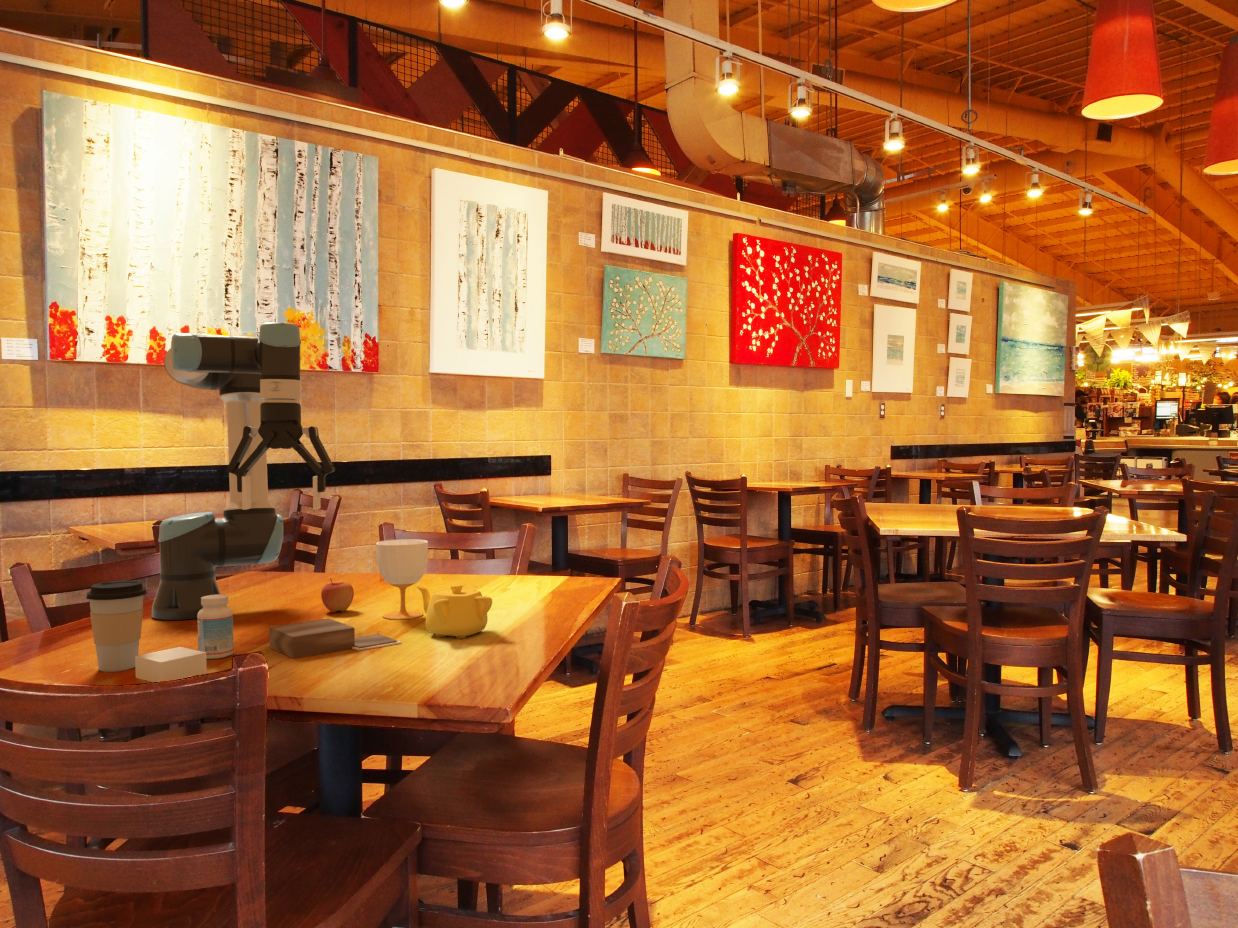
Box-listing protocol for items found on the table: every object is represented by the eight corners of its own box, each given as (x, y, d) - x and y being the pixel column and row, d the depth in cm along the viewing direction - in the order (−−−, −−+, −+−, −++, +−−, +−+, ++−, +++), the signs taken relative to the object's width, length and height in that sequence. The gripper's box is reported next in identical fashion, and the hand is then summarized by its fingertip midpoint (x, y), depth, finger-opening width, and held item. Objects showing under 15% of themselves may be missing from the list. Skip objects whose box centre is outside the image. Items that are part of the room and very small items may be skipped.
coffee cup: (104, 661, 160) (102, 580, 160) (157, 660, 161) (156, 579, 161) (76, 675, 151) (74, 588, 151) (133, 673, 152) (131, 588, 151)
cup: (365, 618, 198) (365, 543, 198) (397, 609, 209) (396, 538, 208) (409, 622, 194) (408, 546, 193) (439, 612, 204) (438, 540, 204)
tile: (337, 642, 175) (337, 639, 175) (380, 635, 181) (379, 632, 181) (357, 650, 168) (357, 647, 168) (401, 643, 174) (401, 640, 174)
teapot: (426, 643, 174) (425, 592, 174) (416, 630, 186) (415, 582, 185) (493, 637, 179) (493, 587, 179) (479, 625, 191) (479, 578, 191)
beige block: (135, 679, 150) (135, 655, 150) (180, 668, 156) (180, 646, 156) (161, 686, 145) (160, 662, 145) (206, 675, 152) (206, 652, 152)
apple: (358, 612, 205) (357, 578, 205) (326, 616, 201) (326, 581, 201) (348, 607, 212) (348, 574, 211) (317, 610, 207) (317, 577, 207)
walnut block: (269, 647, 171) (269, 626, 171) (328, 637, 179) (328, 618, 179) (293, 658, 162) (293, 636, 162) (354, 647, 170) (354, 627, 170)
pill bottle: (240, 653, 166) (239, 594, 166) (216, 660, 161) (215, 600, 160) (215, 650, 168) (214, 592, 168) (190, 658, 163) (189, 598, 162)
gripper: (208, 400, 168) (209, 510, 169) (340, 401, 170) (341, 510, 171) (222, 402, 176) (224, 507, 176) (349, 402, 177) (350, 507, 178)
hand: (281, 509), depth 174 cm, fingers open, 13 cm apart
